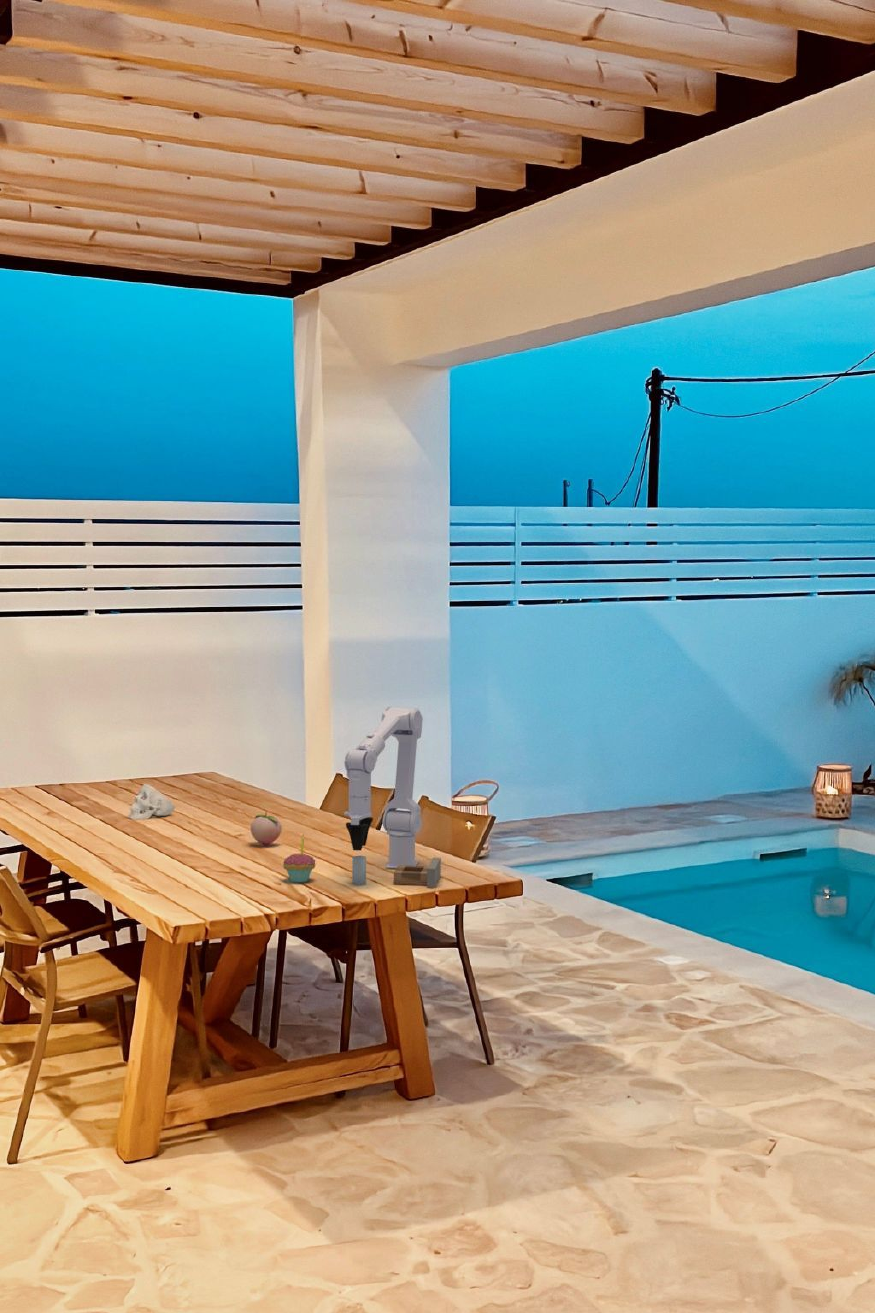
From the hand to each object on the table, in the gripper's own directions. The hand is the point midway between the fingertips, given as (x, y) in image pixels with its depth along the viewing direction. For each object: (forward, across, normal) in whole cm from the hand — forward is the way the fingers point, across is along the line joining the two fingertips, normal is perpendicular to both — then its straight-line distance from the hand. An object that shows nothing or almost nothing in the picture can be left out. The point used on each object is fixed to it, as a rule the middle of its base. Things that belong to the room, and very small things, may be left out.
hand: (359, 847), depth 344 cm
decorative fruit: (+10, -45, -36) cm, 58 cm away
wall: (+9, -5, +19) cm, 22 cm away
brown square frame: (+9, -5, +14) cm, 17 cm away
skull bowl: (+10, -87, -85) cm, 122 cm away
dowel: (+9, 0, 0) cm, 9 cm away
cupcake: (+10, -1, -16) cm, 19 cm away
